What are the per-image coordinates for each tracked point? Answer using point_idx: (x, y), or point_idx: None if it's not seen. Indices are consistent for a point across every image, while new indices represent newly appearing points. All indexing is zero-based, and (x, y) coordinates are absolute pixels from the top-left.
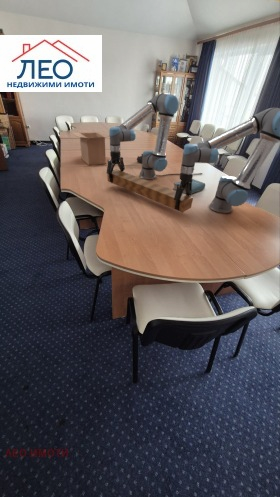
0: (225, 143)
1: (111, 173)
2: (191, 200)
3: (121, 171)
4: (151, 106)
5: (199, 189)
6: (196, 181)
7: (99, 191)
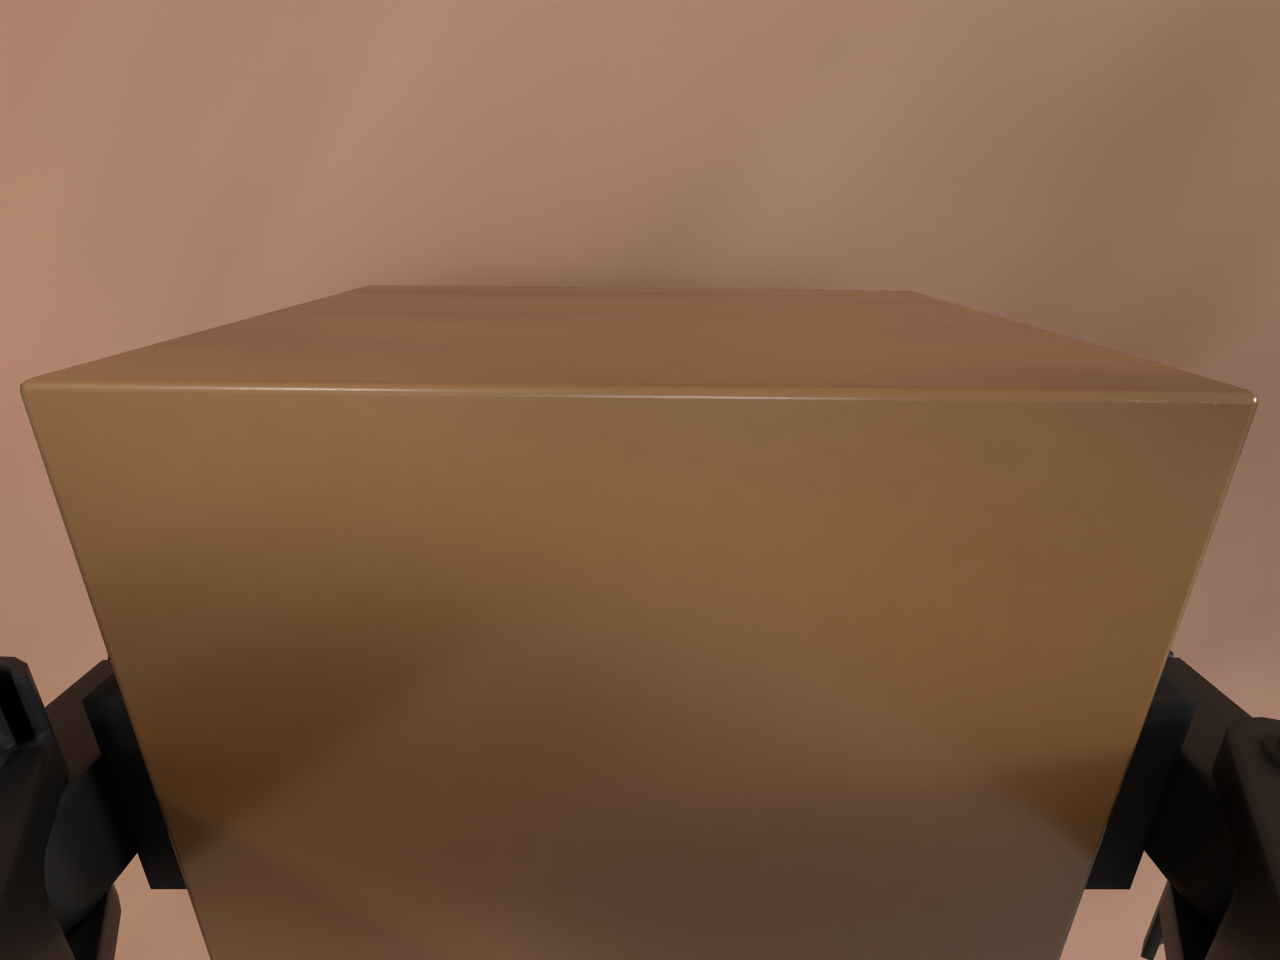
0: None
1: (82, 956)
2: None
3: (1008, 945)
4: None
5: None
6: None
7: (72, 315)
